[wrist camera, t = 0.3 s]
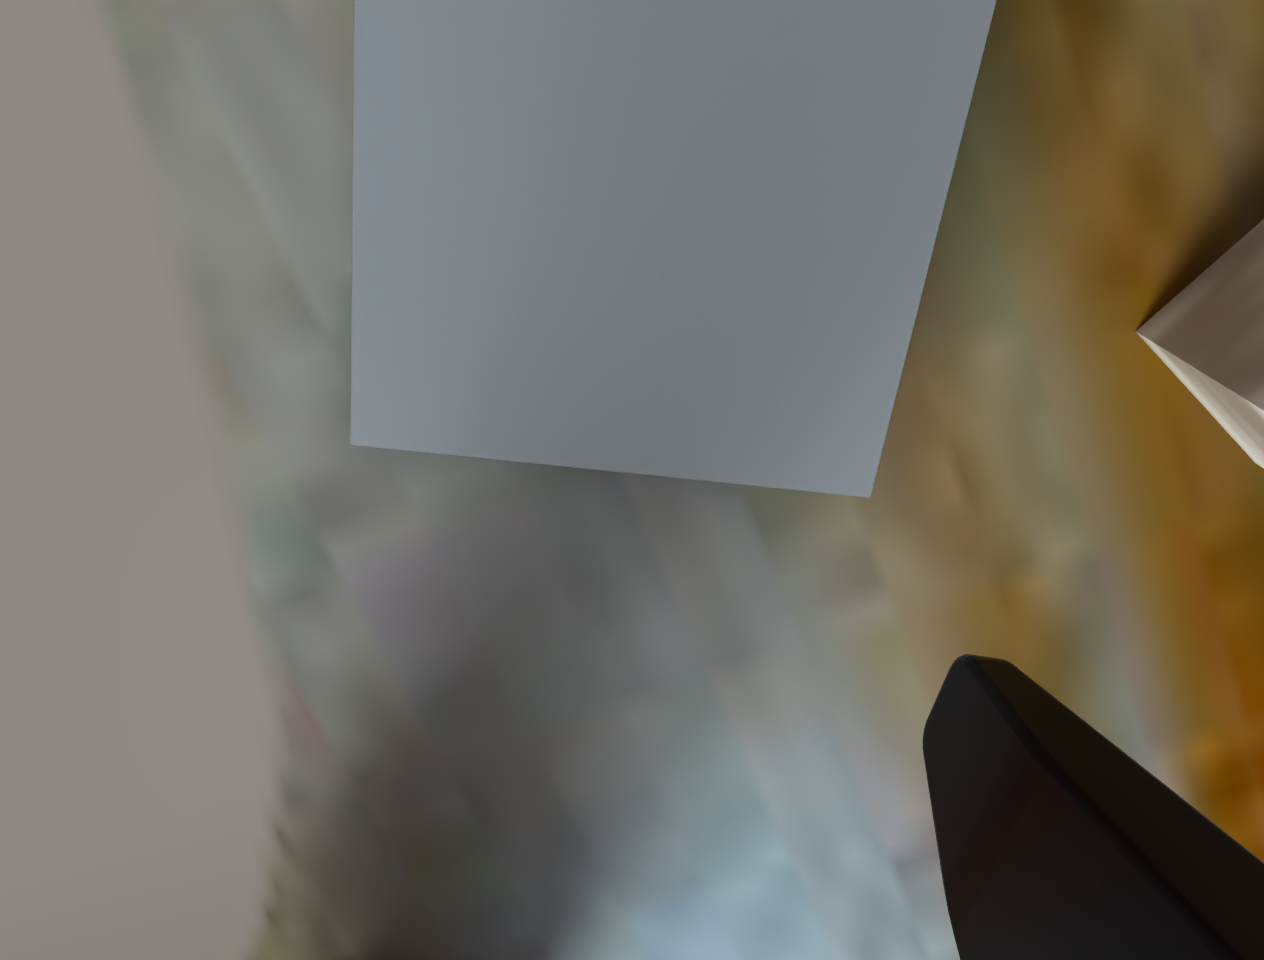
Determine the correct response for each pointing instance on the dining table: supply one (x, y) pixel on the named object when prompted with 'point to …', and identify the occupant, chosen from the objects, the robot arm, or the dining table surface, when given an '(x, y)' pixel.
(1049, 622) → the dining table surface
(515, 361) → the slate board
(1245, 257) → the cream block
